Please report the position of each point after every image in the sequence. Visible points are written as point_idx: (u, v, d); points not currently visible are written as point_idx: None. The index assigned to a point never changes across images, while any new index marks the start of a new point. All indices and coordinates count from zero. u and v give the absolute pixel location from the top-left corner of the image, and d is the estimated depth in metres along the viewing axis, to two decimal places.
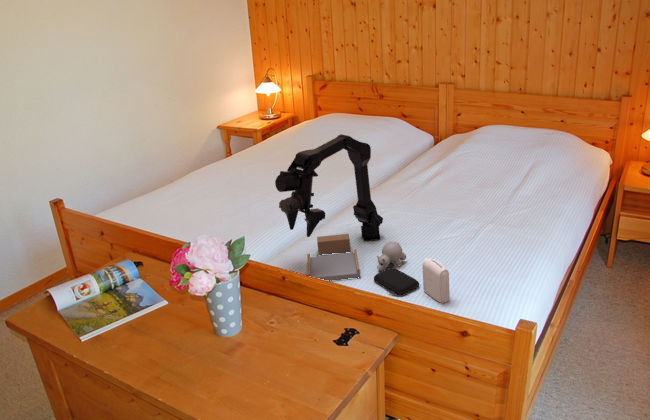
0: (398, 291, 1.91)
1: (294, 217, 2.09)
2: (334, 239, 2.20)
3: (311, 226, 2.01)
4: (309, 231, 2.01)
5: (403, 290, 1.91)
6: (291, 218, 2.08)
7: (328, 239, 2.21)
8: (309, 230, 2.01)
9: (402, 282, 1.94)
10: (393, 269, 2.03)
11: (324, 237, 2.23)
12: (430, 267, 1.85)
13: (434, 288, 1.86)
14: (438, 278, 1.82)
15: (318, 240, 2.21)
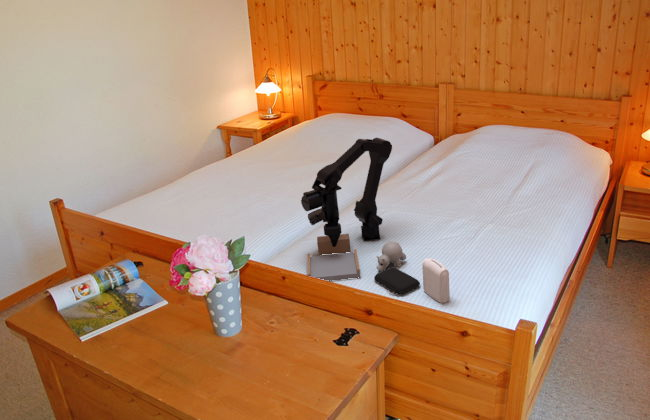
0: (398, 291, 1.91)
1: None
2: None
3: (333, 238, 2.16)
4: (332, 242, 2.17)
5: (404, 290, 1.91)
6: None
7: (328, 239, 2.21)
8: (332, 241, 2.16)
9: (402, 282, 1.94)
10: (394, 269, 2.03)
11: (324, 237, 2.23)
12: (430, 266, 1.85)
13: (434, 288, 1.86)
14: (438, 278, 1.82)
15: (318, 240, 2.21)
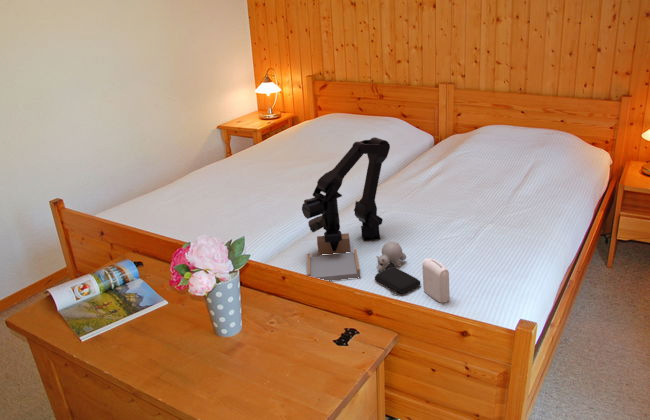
0: (399, 291, 1.92)
1: None
2: None
3: (333, 242, 2.19)
4: (332, 246, 2.20)
5: (405, 289, 1.92)
6: None
7: None
8: (332, 246, 2.19)
9: (403, 281, 1.95)
10: (394, 268, 2.03)
11: None
12: (430, 266, 1.85)
13: (434, 288, 1.86)
14: (438, 278, 1.82)
15: (318, 240, 2.21)
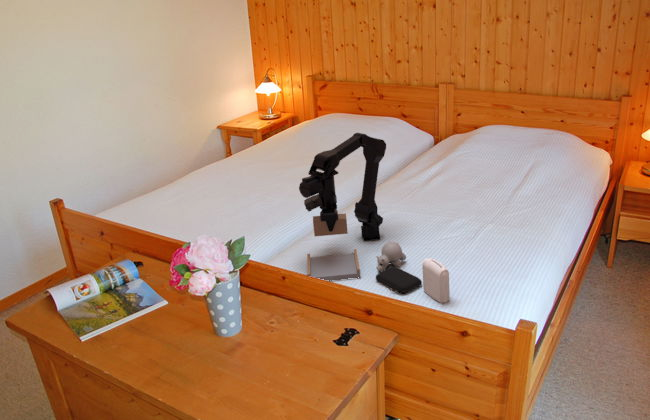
0: (401, 290, 1.92)
1: None
2: None
3: (329, 222, 2.11)
4: (329, 227, 2.12)
5: (406, 288, 1.92)
6: None
7: None
8: (328, 226, 2.12)
9: (405, 281, 1.95)
10: (394, 268, 2.03)
11: None
12: (430, 266, 1.85)
13: (434, 288, 1.86)
14: (438, 278, 1.82)
15: (314, 219, 2.13)
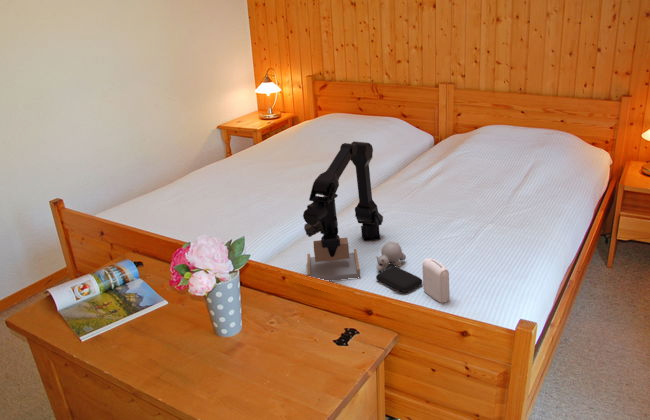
0: (402, 290, 1.92)
1: None
2: None
3: (331, 248, 2.04)
4: (330, 252, 2.05)
5: (407, 288, 1.92)
6: None
7: None
8: (330, 251, 2.05)
9: (405, 280, 1.95)
10: (395, 268, 2.03)
11: None
12: (430, 266, 1.85)
13: (434, 288, 1.86)
14: (438, 278, 1.82)
15: (314, 245, 2.06)
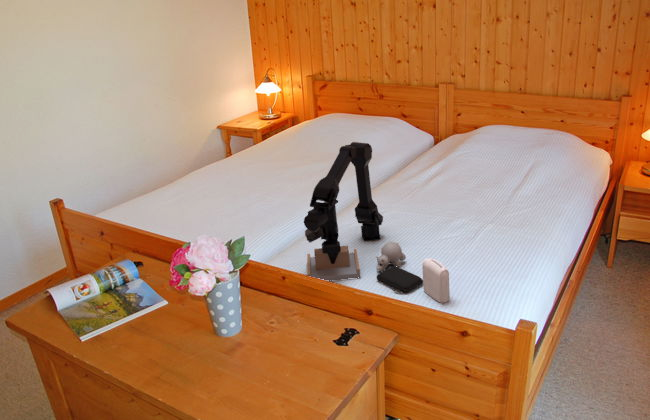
0: (403, 289, 1.92)
1: None
2: None
3: (331, 255, 2.04)
4: (331, 259, 2.05)
5: (408, 288, 1.92)
6: None
7: None
8: (330, 258, 2.04)
9: (406, 280, 1.95)
10: (395, 267, 2.03)
11: None
12: (430, 266, 1.85)
13: (434, 288, 1.86)
14: (438, 278, 1.82)
15: (315, 253, 2.07)
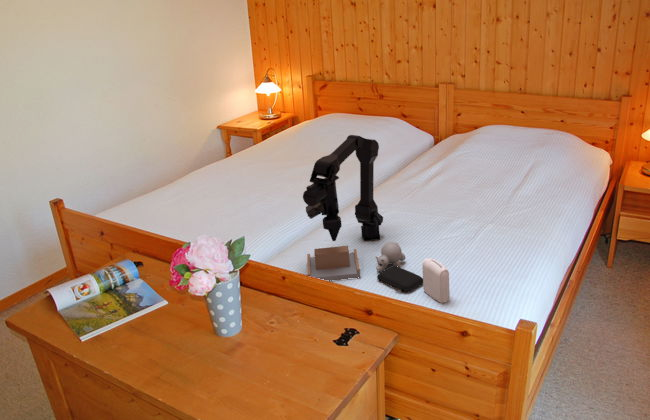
0: (404, 289, 1.92)
1: None
2: (332, 252, 2.07)
3: (333, 232, 2.04)
4: (332, 236, 2.05)
5: (409, 287, 1.93)
6: None
7: (326, 251, 2.07)
8: (331, 235, 2.05)
9: (407, 279, 1.95)
10: (395, 267, 2.04)
11: (322, 249, 2.09)
12: (430, 266, 1.85)
13: (434, 288, 1.86)
14: (438, 278, 1.82)
15: (315, 253, 2.07)
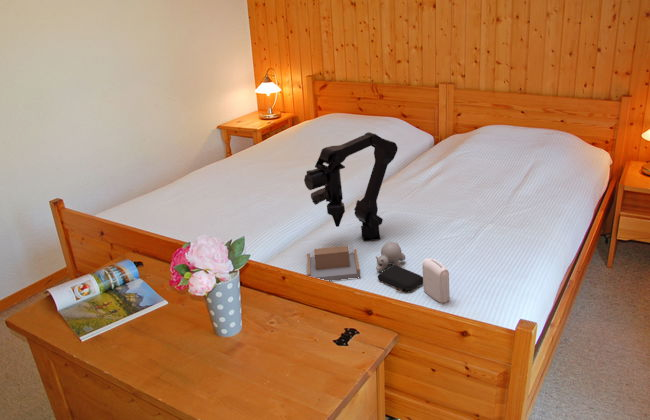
0: (405, 288, 1.93)
1: None
2: (332, 252, 2.07)
3: (336, 217, 2.13)
4: (335, 222, 2.14)
5: (411, 286, 1.93)
6: None
7: (326, 251, 2.07)
8: (335, 221, 2.14)
9: (408, 279, 1.96)
10: (396, 267, 2.04)
11: (322, 249, 2.09)
12: (430, 267, 1.85)
13: (434, 288, 1.86)
14: (438, 278, 1.82)
15: (315, 253, 2.07)
